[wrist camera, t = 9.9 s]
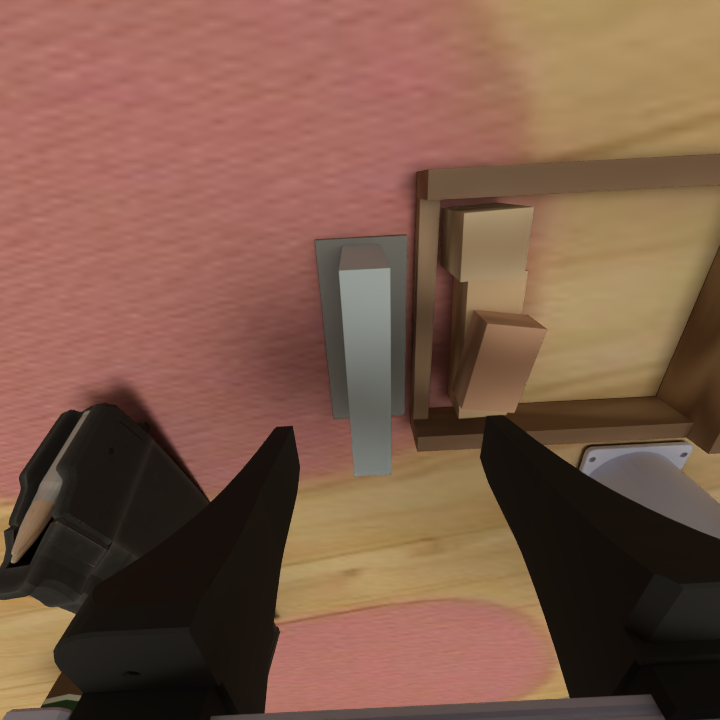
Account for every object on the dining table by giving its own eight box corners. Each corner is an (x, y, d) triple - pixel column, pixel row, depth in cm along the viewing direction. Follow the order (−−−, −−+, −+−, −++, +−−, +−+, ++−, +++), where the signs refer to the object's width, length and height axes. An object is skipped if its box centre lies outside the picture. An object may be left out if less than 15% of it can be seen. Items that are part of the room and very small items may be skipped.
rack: (666, 409, 25) (728, 452, 21) (410, 422, 25) (421, 468, 21) (783, 152, 17) (914, 142, 13) (416, 171, 17) (436, 168, 13)
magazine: (273, 747, 30) (-163, 863, 9) (237, 751, 30) (-267, 873, 9) (287, 537, 42) (119, 379, 21) (262, 541, 42) (72, 389, 21)
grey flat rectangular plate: (403, 411, 24) (404, 415, 24) (333, 415, 24) (333, 418, 24) (406, 234, 19) (407, 235, 18) (315, 239, 19) (314, 240, 18)
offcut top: (500, 393, 20) (514, 412, 19) (451, 389, 20) (461, 408, 18) (528, 314, 18) (547, 329, 16) (474, 309, 18) (487, 323, 16)
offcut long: (489, 389, 24) (506, 415, 21) (446, 392, 24) (458, 418, 21) (504, 259, 20) (528, 270, 17) (452, 263, 20) (468, 275, 17)
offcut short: (492, 260, 19) (524, 276, 16) (440, 264, 19) (460, 282, 16) (498, 202, 18) (534, 206, 14) (442, 208, 18) (464, 213, 15)
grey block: (382, 408, 23) (391, 474, 18) (353, 410, 23) (354, 476, 18) (379, 244, 18) (390, 267, 13) (342, 245, 18) (338, 270, 13)
